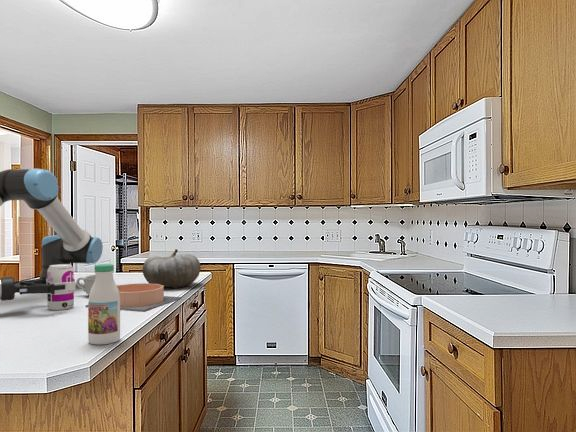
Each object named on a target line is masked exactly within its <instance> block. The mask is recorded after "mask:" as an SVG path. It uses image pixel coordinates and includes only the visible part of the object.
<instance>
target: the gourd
mask: <svg viewBox="0 0 576 432" xmlns="http://www.w3.org/2000/svg"><path fill="white" fill-rule="evenodd" d="M178 251H179V250H178V249H176V248H175V249H174V251H173V253H172V254H171V255H170V256H165V257H162V256H158V255H153V256H149V257H148V258H146V260H145V261H144V263H143V265H142V274H143V276H144V278H145V280H146V283H150V284H160V285H164V288H172V289H178V288H183V287H185V286H190V285H191V284H193V283H194V282H195V281H196V279H197V278H199V275H200V273H201V272H200V271H201V268H202V267H201V262H200V260H199V259H198V257H197V256H195V255H193V254H189V253H186V254H181V253H180V254H177V253H178Z"/></svg>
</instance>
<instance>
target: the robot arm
mask: <svg viewBox="0 0 576 432" xmlns="http://www.w3.org/2000/svg"><path fill="white" fill-rule="evenodd" d="M58 183H59V182H58V179H57V177H56V176H55V175H54V173H53V172H51V171H50V170H47V169H42V168H27V169H25V168H24V169H23V168H21V169H17V168H16V169H13V168H11V169H10V168H9V169H5V170H2V171H0V207H1V206H2V205H3V204H5V203H6V202H10V201H24V202H25V204H26V205H27V206H28V207H29V208H30V209H31V210H37V211H38V212H39V214H40V215H41V216H42V218H43V219H44V220H45V221H46V222H47V223H48V225H49V226H50V227H51V228H52V229H53V231H54V232H55V233H56V234H57V235H54V234H53V235H47V236H44V237H43V238H42V240H41V246H40V247H41V271H40V275H39V277H38V278H34V279H27V280H20V281H19V280H17V281H15V279H14V277H13V276H6V277H1V278H0V301H3V302H5V301H12V300H14V299H15V297H16V295H15V294H16V293H19V295H20V296H21V295H30V294H31V295H33V294H47V293H51V294H55V292H58V291H68V290H74V291H75V290H76V280H75V278H74V282H64V283H54V284H47V270H48V268H49V266H50V265H58V264H71V265H72V264H87V265H89V264H95V263H97V262H98V261H100V259H101V256H102V255H103V241H102V239H101V238H100V237H96V236H94V237H93V236H92V235H91V234H90V232H89V231H87V230H86V229H82V228H81V227H80V226H79V224H78V223H77V222H76V221H75V219H74V218H73V216H72V215H71V214H70V212H69V211H68V210H67V208H66V207H65V206H64V204H63V203H62V201H60V199H59V197H58V196H59V187H60V186H59V185H58Z"/></svg>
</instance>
